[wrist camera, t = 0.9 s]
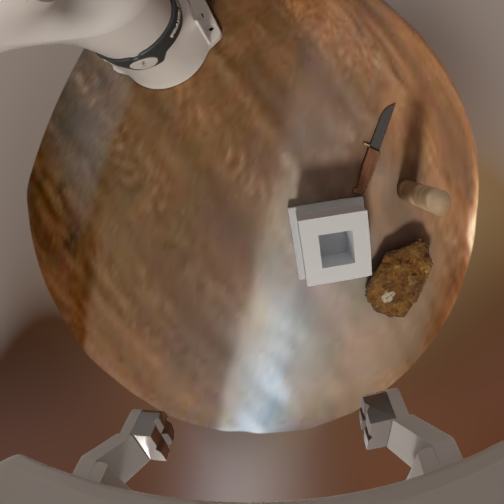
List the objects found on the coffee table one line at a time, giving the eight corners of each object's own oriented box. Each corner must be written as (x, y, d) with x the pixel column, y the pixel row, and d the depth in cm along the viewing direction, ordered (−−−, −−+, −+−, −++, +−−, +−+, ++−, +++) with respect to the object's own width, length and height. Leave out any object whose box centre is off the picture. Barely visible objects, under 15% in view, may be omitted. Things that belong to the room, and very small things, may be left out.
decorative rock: (387, 223, 48) (353, 299, 53) (395, 229, 44) (357, 310, 49) (439, 245, 47) (404, 314, 53) (448, 252, 44) (410, 326, 49)
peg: (395, 180, 45) (429, 191, 33) (413, 178, 44) (450, 189, 33) (397, 201, 46) (431, 217, 34) (415, 198, 45) (451, 214, 34)
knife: (380, 94, 40) (396, 102, 40) (378, 95, 41) (394, 103, 41) (348, 190, 45) (365, 197, 45) (346, 189, 46) (363, 196, 46)
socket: (287, 207, 47) (289, 215, 42) (361, 195, 46) (373, 202, 40) (298, 277, 51) (301, 293, 45) (367, 265, 50) (378, 280, 44)
